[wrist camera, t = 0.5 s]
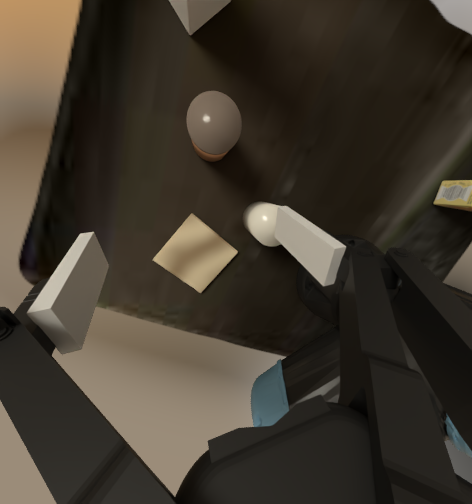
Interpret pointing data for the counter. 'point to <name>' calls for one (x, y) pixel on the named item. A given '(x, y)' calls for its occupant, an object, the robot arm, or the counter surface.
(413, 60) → the counter surface
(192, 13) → the milk
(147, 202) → the counter surface
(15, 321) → the robot arm
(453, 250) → the counter surface
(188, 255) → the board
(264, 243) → the white rounded cylinder
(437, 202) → the candy box
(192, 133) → the jar
